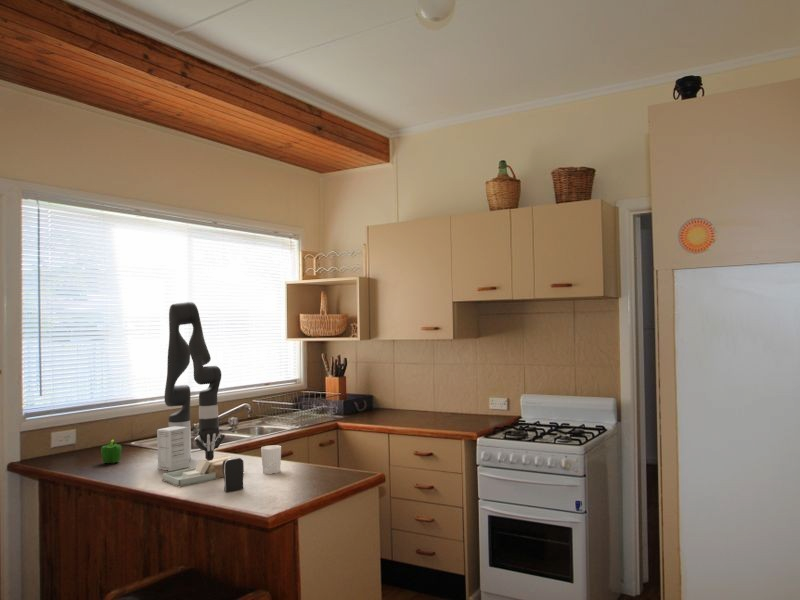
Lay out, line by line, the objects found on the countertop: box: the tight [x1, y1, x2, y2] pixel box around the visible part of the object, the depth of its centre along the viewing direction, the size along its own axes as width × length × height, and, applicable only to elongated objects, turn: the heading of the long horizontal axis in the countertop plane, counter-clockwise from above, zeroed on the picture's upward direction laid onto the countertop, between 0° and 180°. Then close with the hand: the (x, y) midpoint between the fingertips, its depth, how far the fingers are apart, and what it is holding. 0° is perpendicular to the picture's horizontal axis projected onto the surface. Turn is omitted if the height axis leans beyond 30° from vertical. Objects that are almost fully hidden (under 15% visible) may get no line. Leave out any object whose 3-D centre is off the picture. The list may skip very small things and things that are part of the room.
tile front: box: [182, 470, 200, 479], centre depth 243 cm, size 5×5×2 cm
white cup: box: [260, 444, 282, 475], centre depth 251 cm, size 8×8×10 cm
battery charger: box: [222, 457, 244, 493], centre depth 225 cm, size 7×4×11 cm, turn 131°
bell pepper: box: [100, 439, 123, 464], centre depth 279 cm, size 8×8×10 cm
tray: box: [161, 467, 217, 487], centre depth 243 cm, size 15×15×2 cm
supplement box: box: [156, 426, 190, 472], centre depth 264 cm, size 10×9×17 cm
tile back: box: [194, 458, 210, 474], centre depth 247 cm, size 5×5×2 cm
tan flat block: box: [198, 455, 245, 479], centre depth 252 cm, size 14×12×5 cm
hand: (209, 460), depth 249 cm, fingers closed
